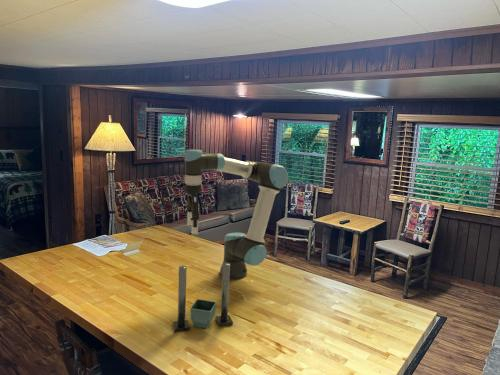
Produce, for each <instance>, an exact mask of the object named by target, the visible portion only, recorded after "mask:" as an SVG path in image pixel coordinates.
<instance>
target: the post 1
mask: <svg viewBox="0 0 500 375" xmlns="http://www.w3.org/2000/svg"><path fill="white" fill-rule="evenodd" d="M187 269H188V268H187V266H186V265H180V266H178V286H177V287H178V288H177V289H178V291H177V293H178V297H177V300H178V301H177V320H174V321H172V327H173V330H174V331H173V332H174V333H182V332H189V331H191V326H190V322H189V320H188V319H186V310H187V309H186V308H187V307H186V305H187V303H186V301H187Z"/></svg>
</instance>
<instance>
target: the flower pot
mask: <svg viewBox="0 0 500 375" xmlns="http://www.w3.org/2000/svg"><path fill="white" fill-rule="evenodd" d="M216 308H217V301H212V300H206V299H199V298H197V299H196V300H195V301H194V302H193V304H192V305H191V306H190V308H189V309H190V317H191V318H190V319H191V321H192V324H193V325H194V326H195V327H196V328H202V329H208V328H209V326H210V324H211V322H212V321H213V319H214V317H215V314H216Z"/></svg>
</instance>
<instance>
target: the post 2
mask: <svg viewBox="0 0 500 375" xmlns="http://www.w3.org/2000/svg"><path fill="white" fill-rule="evenodd" d="M222 263H223V262H222ZM221 276H222V278H221V279H222V280H221V297H220V298H221V301H220V302H221V303H220V315H219V316H218V315H217V316H215V315H214V317H215V318H214V319H215V322H216V324H217V326H218V328H220V327H228V326H233V324H234V322H233V320H232V318H231V316H230V315H229V299H230V298H229V295H230V279H231V278H230V263H223V273H222V275H221Z"/></svg>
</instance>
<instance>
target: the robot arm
mask: <svg viewBox="0 0 500 375" xmlns="http://www.w3.org/2000/svg"><path fill="white" fill-rule="evenodd" d="M202 171H218V172H221V173H226V174H227V173H228V174H232V175H236V176H241V177H242V178H243V179H246V180H250V181H252V182H256V183H258V188H259V192H258V196H257V200H256V203H255V207H254V209H253V210H254V211H253V213H252V216H251V217H252V218H251V220H250V224H249V228H248V230H247V233H244V232H230V233H226V235H225V236H224V241H223V244H224V245H223V248H224V249H223V261H222V264H221V265H220V270H219V274H220V275H221V276H222V273H223V263H230V278H229V279H234V280H235V279H236V280H237V279H242V278H245V277H246V276H247V275H248V268H247V265H249V266H253V267H255V266H259V265H260V264H261V263H263V262H264V260H265V259H266V257H267V248H266V247H265V244H266V241H265V239H264V237H265V233H266V230H267V227H268V223H269V220H270V216H271V212H272V210H273V205H274V201H275V198H276V195H277V194H279V193H280V191H281V189H282V188H284V187H285V186H286V185H287V183H288V180H289V175H288V174H289V173H288V172H287V169H286V168H285V167H284V166H283V165H280V164H277V163H269V162H265V161H264V162H263V161H253V160H252V161H250V160H245V161H242V160H238V159H234V158H229V157H226V156H224V155H223V154H222V153H217V152H216V153H212V152H204V151H203V150H201V149H186V150H185V154H184V176H183V179H184V183H185V184H184V193H185V194H187V202H186V203H187V204H186V209H187V210H186V211H187V222H186V223H187V226H191V232H190V233H191V235H198V233H199V219H200V215H199V214H200V213H199V197H198V195H197V194H201V193H202V181H203V180H202V177H203V176H202V175H203V172H202Z"/></svg>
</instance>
